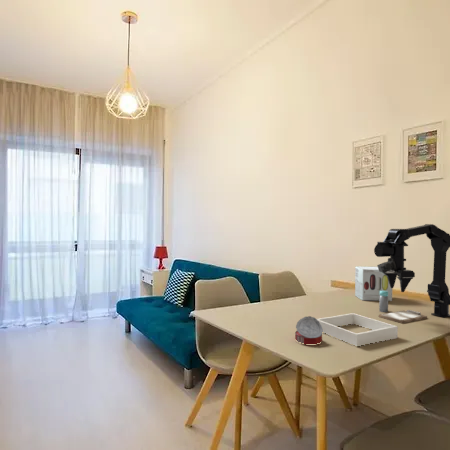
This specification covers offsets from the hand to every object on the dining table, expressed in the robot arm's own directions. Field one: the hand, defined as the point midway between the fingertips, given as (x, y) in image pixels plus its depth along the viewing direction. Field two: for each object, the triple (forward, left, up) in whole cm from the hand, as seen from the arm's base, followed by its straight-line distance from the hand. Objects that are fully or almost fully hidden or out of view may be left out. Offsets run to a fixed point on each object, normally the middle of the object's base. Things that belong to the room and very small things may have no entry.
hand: (397, 290), depth 162 cm
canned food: (+56, +4, -14) cm, 58 cm away
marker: (-7, -13, -14) cm, 20 cm away
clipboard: (-5, -1, -14) cm, 15 cm away
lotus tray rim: (+34, +6, -14) cm, 37 cm away
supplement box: (-27, -36, -14) cm, 47 cm away
